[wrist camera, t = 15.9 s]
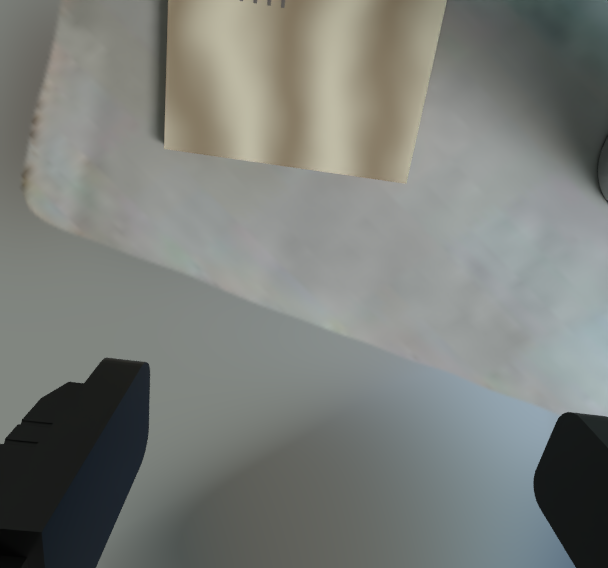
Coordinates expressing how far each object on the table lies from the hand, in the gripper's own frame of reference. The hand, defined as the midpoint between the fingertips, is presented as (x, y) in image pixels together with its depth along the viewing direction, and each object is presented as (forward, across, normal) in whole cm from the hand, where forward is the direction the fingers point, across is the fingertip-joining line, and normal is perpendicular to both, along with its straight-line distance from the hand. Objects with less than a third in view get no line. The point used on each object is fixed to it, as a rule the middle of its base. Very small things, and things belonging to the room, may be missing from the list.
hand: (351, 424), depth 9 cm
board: (+28, +2, -13) cm, 31 cm away
